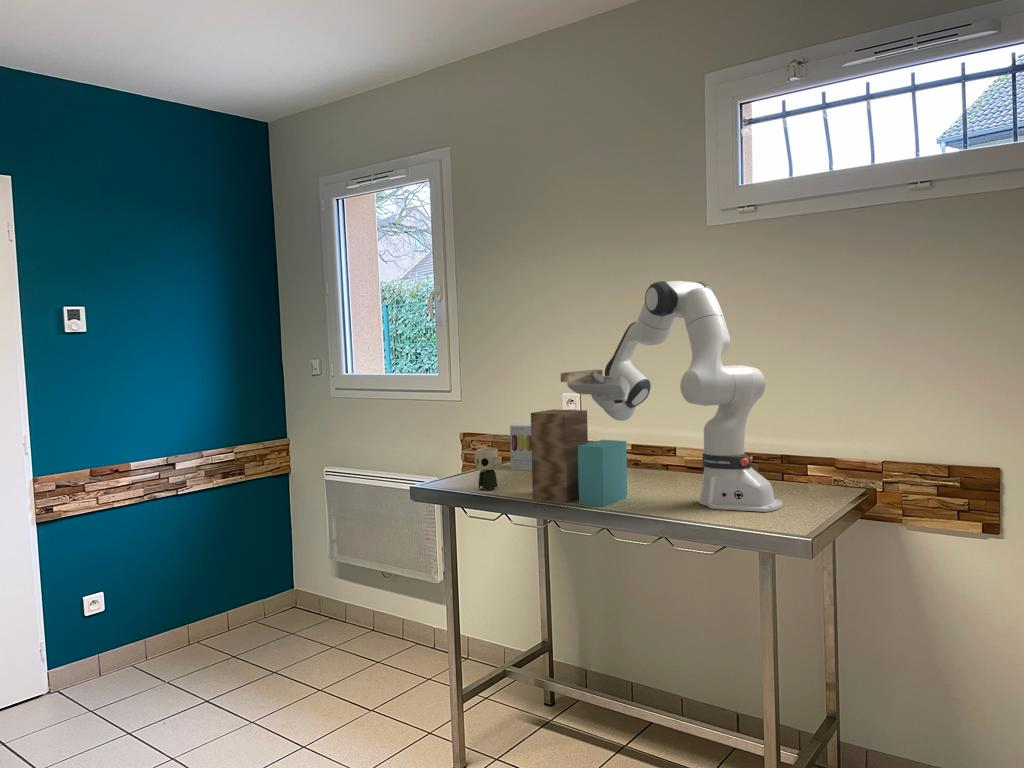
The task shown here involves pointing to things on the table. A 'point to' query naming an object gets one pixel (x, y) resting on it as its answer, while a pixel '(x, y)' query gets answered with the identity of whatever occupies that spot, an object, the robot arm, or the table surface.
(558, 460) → the pillar
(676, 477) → the table surface
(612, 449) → the teal rectangular block
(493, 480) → the character mug
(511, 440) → the supplement box
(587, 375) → the baton
